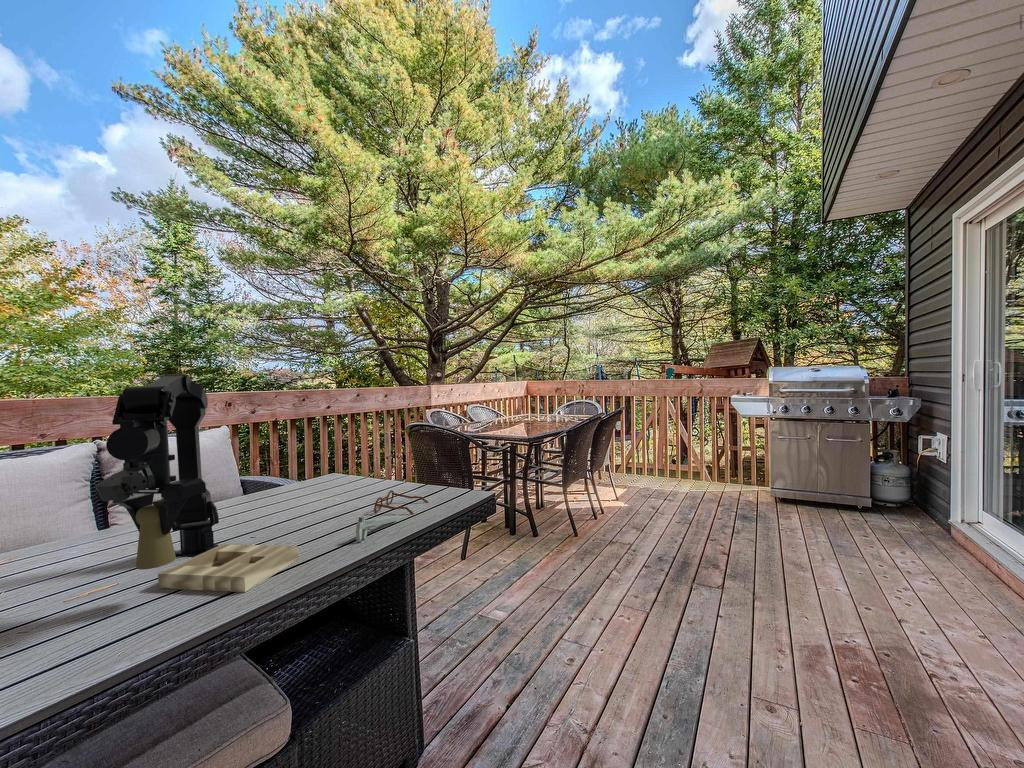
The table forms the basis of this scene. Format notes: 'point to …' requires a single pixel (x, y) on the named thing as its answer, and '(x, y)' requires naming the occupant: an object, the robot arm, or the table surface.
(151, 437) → the robot arm
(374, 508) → the glasses
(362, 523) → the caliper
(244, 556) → the block
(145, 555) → the olive knobbed peg
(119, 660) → the table surface
